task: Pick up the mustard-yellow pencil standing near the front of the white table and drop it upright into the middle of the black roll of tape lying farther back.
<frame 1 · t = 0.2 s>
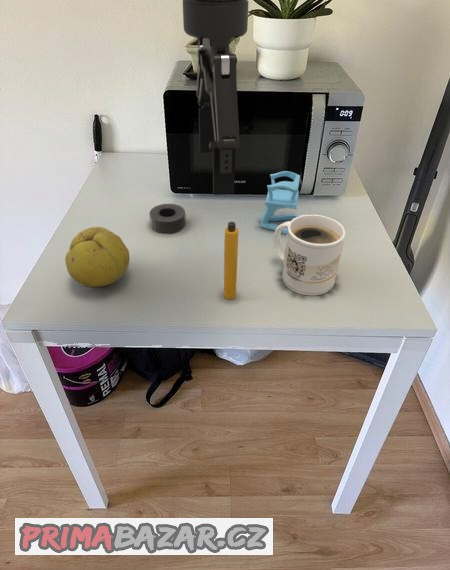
hand: (215, 170, 63), 24 cm above the table, tool pointing down, fingers open, 13 cm apart
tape: (168, 224, 97), on the table
mug: (304, 276, 84), on the table
fruit: (102, 280, 82), on the table
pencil: (229, 295, 79), on the table
chair: (279, 225, 97), on the table
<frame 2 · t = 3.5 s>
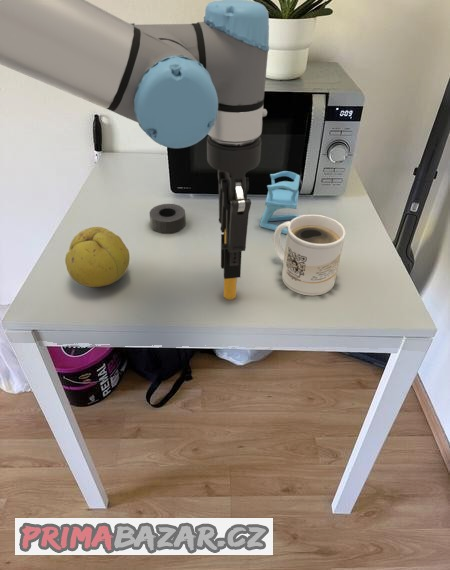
hand: (230, 271, 75), 5 cm above the table, tool pointing down, fingers closed on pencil, 2 cm apart
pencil: (229, 295, 79), on the table, touching gripper
everything else where it was.
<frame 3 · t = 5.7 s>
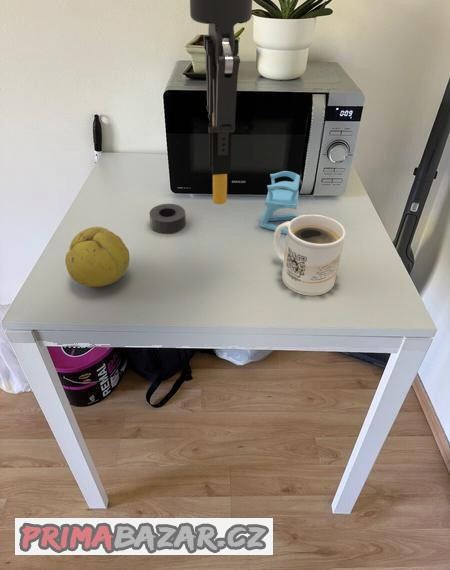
hand: (219, 168, 67), 22 cm above the table, tool pointing down, fingers closed on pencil, 2 cm apart
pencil: (219, 201, 71), point 17 cm above the table, touching gripper
everything else where it was.
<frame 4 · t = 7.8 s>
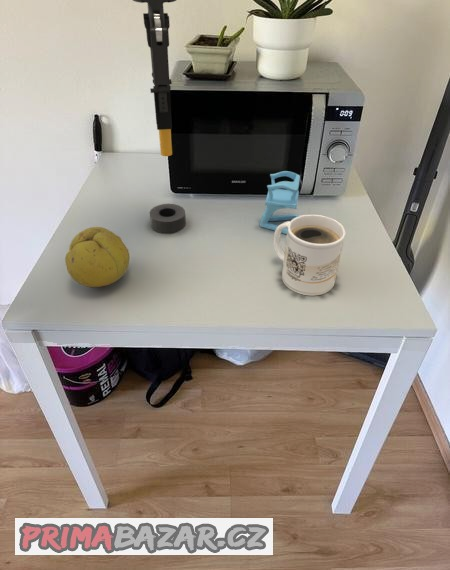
hand: (164, 125, 81), 22 cm above the table, tool pointing down, fingers closed on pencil, 2 cm apart
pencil: (166, 154, 85), point 17 cm above the table, touching gripper
everything else where it was.
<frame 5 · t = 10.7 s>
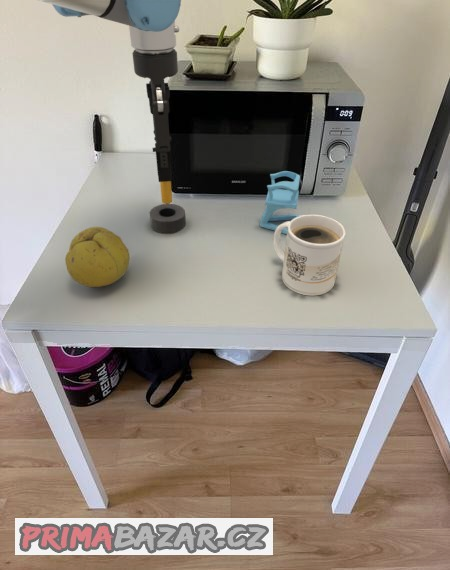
hand: (164, 177, 90), 11 cm above the table, tool pointing down, fingers closed on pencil, 2 cm apart
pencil: (167, 201, 93), point 6 cm above the table, touching gripper
everything else where it was.
when the fingers open (6 cm above the table, at t = 12.5 s): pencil stays where it is, resting on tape.
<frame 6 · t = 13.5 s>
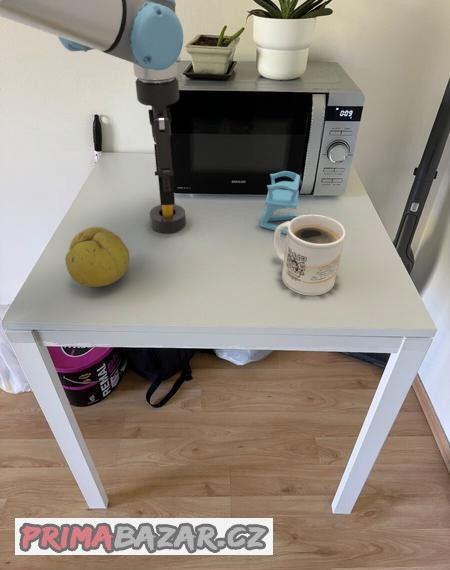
hand: (165, 188, 91), 9 cm above the table, tool pointing down, fingers open, 13 cm apart
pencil: (168, 223, 97), resting on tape
everything else where it was.
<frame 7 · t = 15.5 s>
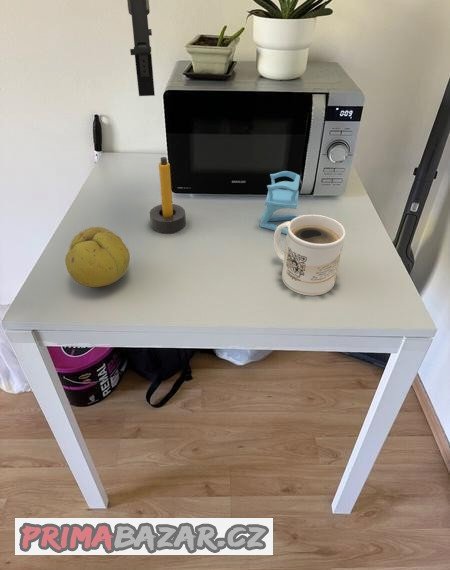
hand: (145, 84, 82), 28 cm above the table, tool pointing down, fingers open, 13 cm apart
nothing on the table moved.
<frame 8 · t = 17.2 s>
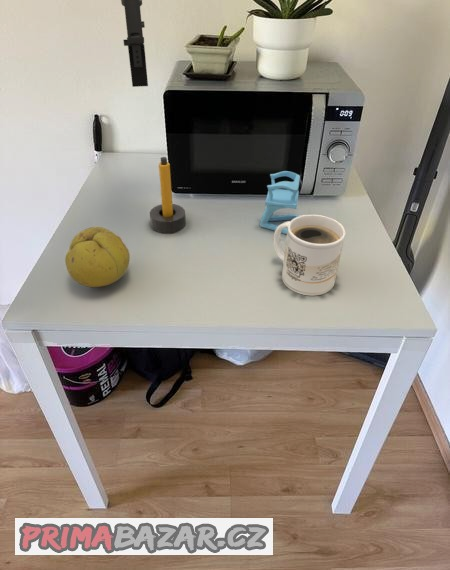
hand: (139, 75, 83), 29 cm above the table, tool pointing down, fingers open, 13 cm apart
nothing on the table moved.
at the end: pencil 0.1 cm off-centre in the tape, point 0.2 cm above the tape's base; the gripper is holding nothing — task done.
